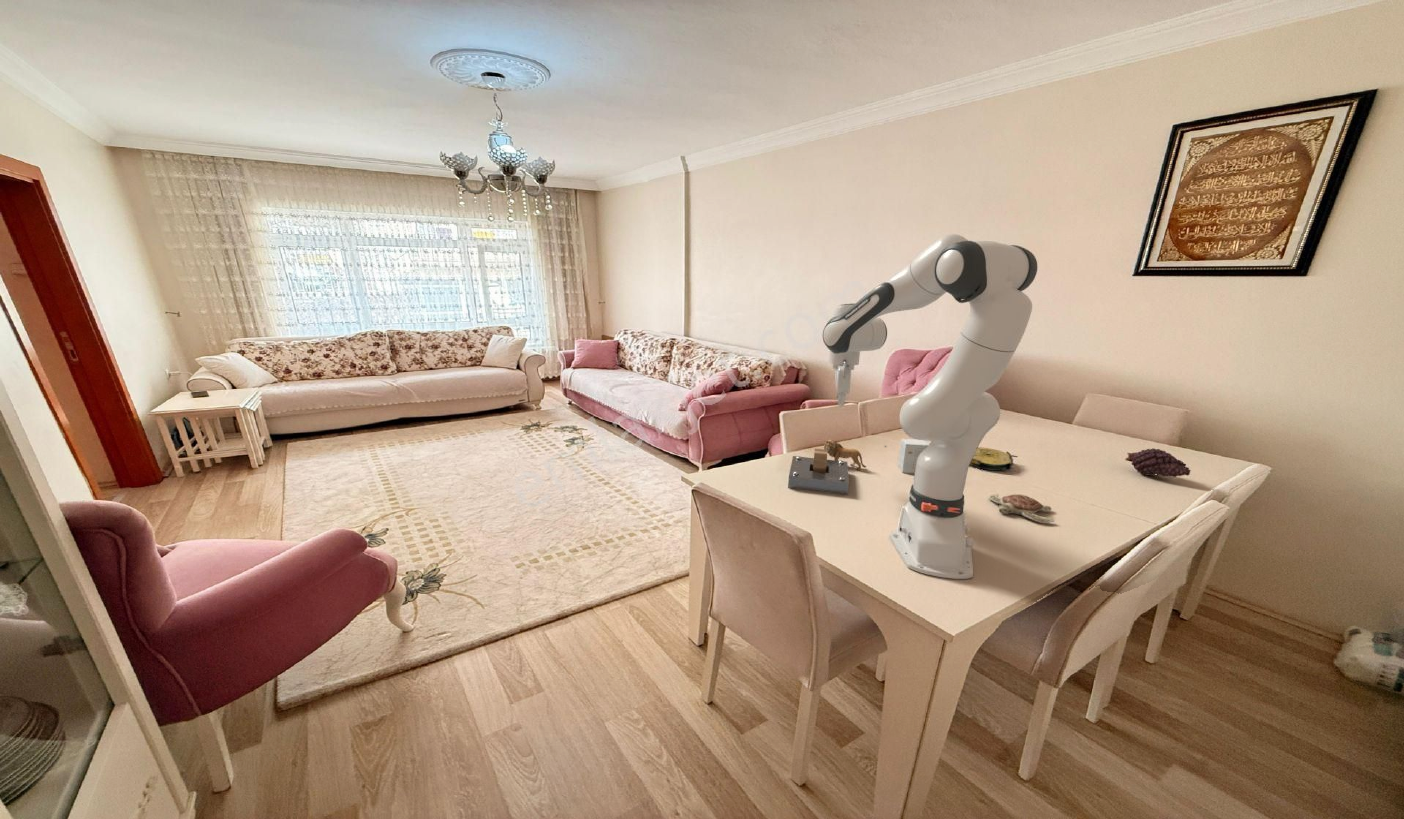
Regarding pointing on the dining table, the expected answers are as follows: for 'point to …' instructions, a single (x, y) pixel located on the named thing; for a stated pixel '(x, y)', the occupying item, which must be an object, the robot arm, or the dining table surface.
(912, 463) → the small box
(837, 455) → the lion figurine
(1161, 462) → the pine cone
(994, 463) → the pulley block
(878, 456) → the dining table surface
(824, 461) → the brown wooden block
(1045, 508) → the decorative turtle
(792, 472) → the slotted grey base block
